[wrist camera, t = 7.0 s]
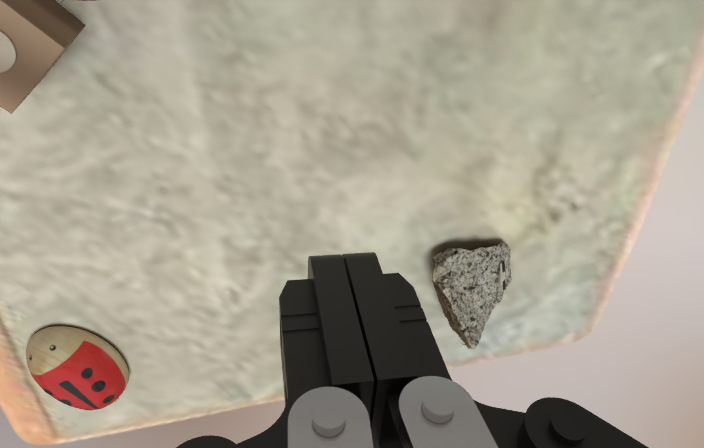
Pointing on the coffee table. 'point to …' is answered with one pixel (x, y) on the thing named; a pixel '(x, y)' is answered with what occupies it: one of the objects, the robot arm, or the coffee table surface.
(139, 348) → the coffee table surface
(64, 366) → the ladybug figurine
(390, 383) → the robot arm
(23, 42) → the walnut dotted block
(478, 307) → the rock sample
